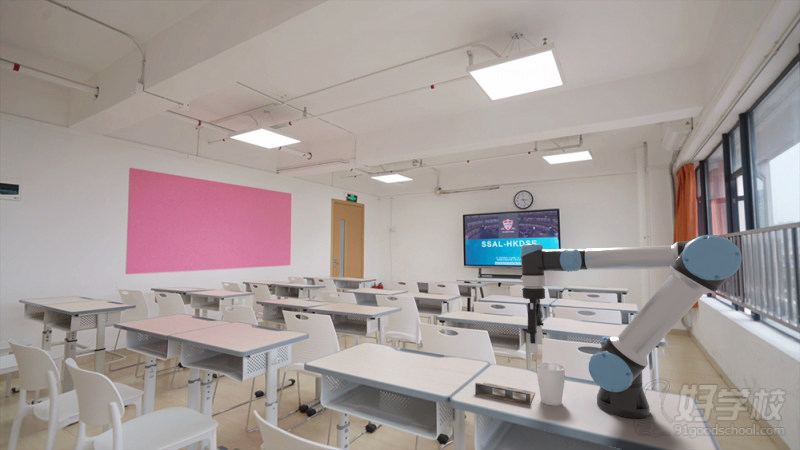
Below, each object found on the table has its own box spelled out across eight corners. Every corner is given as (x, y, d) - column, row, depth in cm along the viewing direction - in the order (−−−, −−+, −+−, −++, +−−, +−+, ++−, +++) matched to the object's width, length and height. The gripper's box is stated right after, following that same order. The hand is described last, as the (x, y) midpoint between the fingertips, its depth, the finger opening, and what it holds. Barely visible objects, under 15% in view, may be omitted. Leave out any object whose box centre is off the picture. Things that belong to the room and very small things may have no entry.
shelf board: (534, 393, 133) (534, 383, 134) (529, 405, 124) (529, 394, 124) (483, 383, 142) (483, 374, 143) (475, 393, 133) (475, 383, 133)
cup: (568, 408, 121) (567, 371, 122) (539, 405, 123) (539, 369, 124) (562, 397, 130) (561, 363, 131) (535, 395, 132) (535, 361, 133)
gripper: (527, 284, 143) (529, 339, 141) (516, 290, 121) (519, 355, 119) (547, 284, 140) (550, 341, 138) (540, 290, 118) (543, 358, 116)
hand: (536, 348), depth 129 cm, fingers open, 13 cm apart
